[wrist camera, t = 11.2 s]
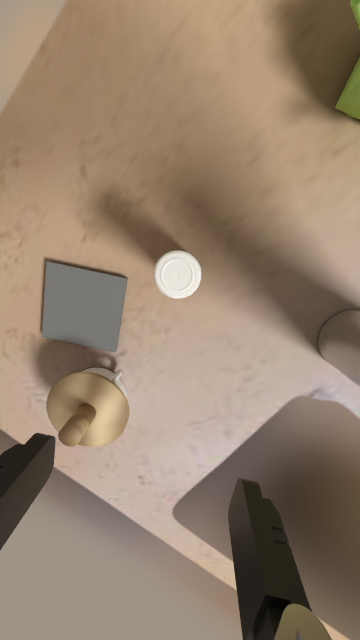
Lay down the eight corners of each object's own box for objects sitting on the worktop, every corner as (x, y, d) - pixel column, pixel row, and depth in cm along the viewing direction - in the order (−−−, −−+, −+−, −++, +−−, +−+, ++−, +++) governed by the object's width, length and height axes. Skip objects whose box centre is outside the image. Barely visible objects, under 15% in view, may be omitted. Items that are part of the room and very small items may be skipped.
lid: (134, 381, 34) (122, 405, 28) (123, 449, 37) (110, 484, 31) (51, 364, 34) (23, 385, 28) (47, 433, 37) (21, 465, 31)
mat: (127, 278, 36) (125, 278, 35) (116, 350, 39) (114, 352, 38) (50, 261, 36) (46, 261, 35) (45, 334, 39) (41, 336, 38)
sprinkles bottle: (194, 249, 34) (195, 244, 21) (201, 280, 35) (206, 293, 22) (164, 257, 35) (147, 257, 22) (172, 288, 36) (160, 304, 23)
